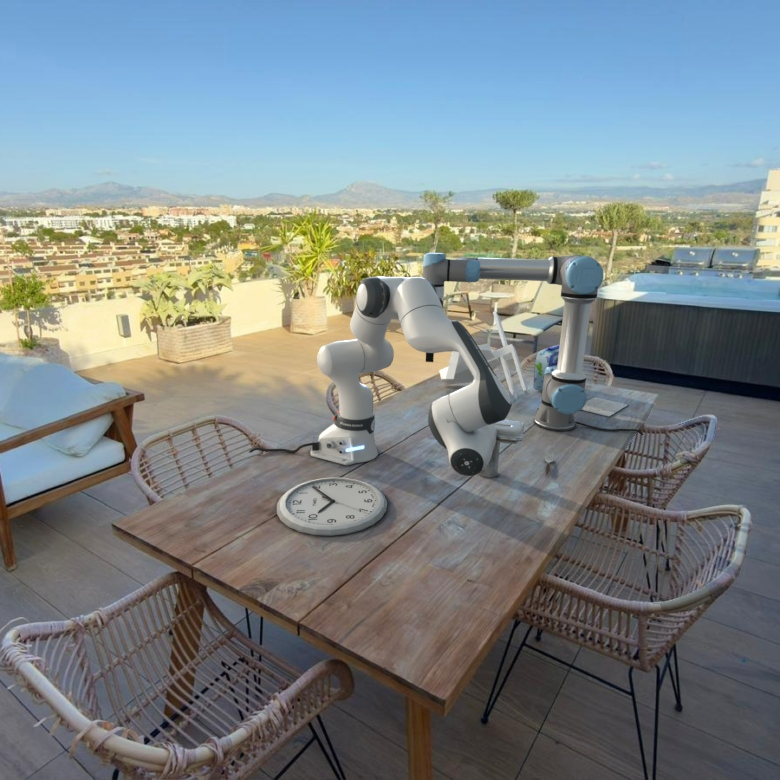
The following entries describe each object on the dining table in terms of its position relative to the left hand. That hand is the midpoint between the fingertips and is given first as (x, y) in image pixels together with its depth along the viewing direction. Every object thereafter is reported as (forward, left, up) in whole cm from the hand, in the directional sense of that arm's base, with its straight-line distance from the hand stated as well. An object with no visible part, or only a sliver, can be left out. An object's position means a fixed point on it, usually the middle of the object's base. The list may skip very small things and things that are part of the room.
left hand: (485, 417), depth 137 cm
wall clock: (-38, -14, -26) cm, 48 cm away
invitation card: (+38, +101, -26) cm, 111 cm away
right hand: (-27, +50, +2) cm, 57 cm away
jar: (0, +20, -26) cm, 32 cm away
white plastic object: (-15, +103, -26) cm, 108 cm away
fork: (+17, +31, -26) cm, 44 cm away
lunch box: (+18, +121, -26) cm, 125 cm away
